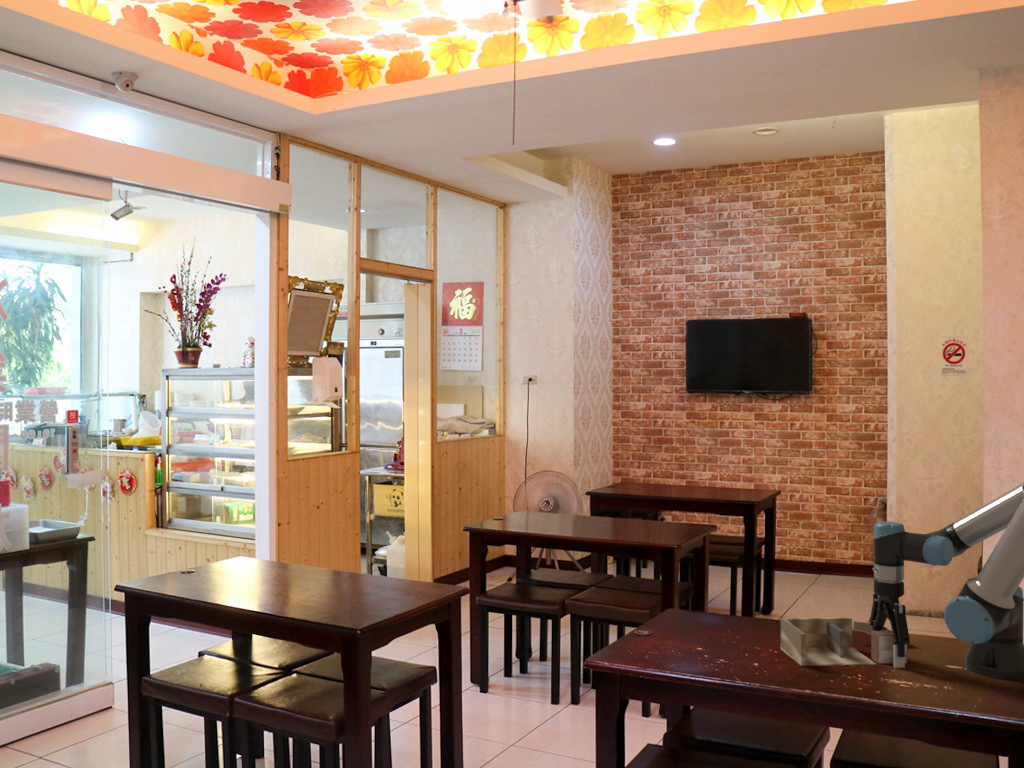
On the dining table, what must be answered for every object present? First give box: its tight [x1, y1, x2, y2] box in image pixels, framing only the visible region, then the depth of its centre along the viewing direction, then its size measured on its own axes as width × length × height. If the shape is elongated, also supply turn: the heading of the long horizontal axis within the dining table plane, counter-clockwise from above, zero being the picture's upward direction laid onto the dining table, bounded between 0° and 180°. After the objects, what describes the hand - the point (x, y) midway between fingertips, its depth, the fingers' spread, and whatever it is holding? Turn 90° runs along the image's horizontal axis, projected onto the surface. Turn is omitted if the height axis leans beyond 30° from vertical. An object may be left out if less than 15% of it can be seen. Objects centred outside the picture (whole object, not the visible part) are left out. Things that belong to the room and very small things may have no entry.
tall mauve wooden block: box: [870, 630, 908, 664], centre depth 242 cm, size 8×4×8 cm, turn 92°
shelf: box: [779, 616, 877, 667], centre depth 246 cm, size 20×16×9 cm
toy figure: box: [852, 620, 892, 636], centre depth 260 cm, size 7×6×15 cm
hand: (888, 661), depth 242 cm, fingers open, 11 cm apart
